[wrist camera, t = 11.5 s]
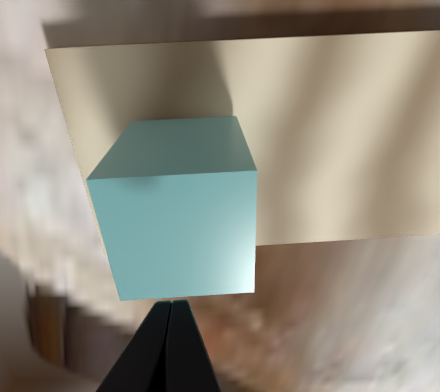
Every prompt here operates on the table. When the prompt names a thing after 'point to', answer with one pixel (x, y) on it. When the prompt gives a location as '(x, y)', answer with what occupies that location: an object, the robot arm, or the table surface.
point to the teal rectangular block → (178, 208)
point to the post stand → (284, 121)
